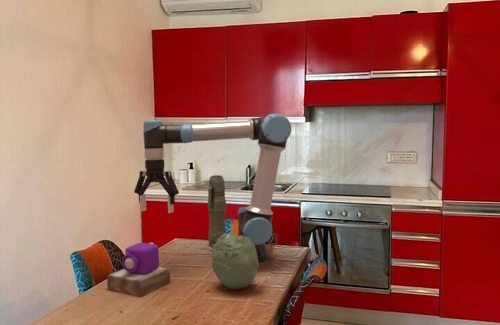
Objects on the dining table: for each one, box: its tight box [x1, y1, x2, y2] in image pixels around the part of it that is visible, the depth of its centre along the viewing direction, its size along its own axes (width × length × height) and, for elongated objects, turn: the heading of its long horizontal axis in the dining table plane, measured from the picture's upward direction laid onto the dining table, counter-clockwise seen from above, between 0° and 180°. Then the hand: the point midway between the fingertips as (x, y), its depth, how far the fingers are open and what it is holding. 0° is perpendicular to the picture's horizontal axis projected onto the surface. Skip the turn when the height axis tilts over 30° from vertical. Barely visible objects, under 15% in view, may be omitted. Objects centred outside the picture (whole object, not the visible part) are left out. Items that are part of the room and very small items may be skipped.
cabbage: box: [209, 233, 260, 290], centre depth 159 cm, size 16×19×20 cm
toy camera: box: [121, 242, 160, 274], centre depth 161 cm, size 11×14×10 cm
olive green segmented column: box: [207, 174, 227, 248], centre depth 217 cm, size 9×12×35 cm
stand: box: [106, 266, 171, 298], centre depth 162 cm, size 16×16×5 cm
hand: (157, 211), depth 176 cm, fingers open, 13 cm apart
